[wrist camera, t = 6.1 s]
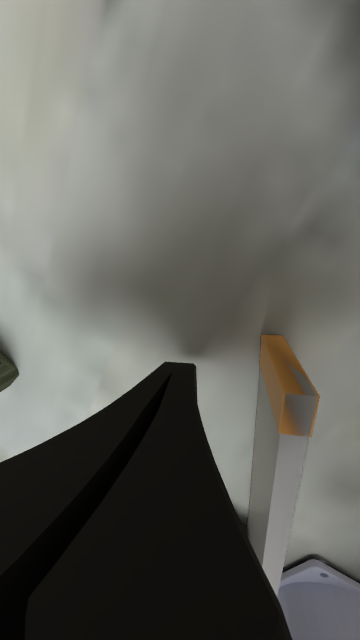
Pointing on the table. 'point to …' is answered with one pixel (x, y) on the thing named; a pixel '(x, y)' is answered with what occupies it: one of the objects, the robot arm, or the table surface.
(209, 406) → the table surface
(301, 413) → the side door
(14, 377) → the handheld radio
